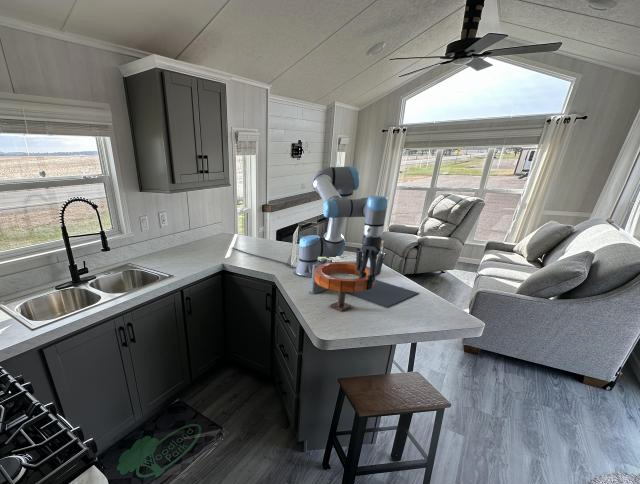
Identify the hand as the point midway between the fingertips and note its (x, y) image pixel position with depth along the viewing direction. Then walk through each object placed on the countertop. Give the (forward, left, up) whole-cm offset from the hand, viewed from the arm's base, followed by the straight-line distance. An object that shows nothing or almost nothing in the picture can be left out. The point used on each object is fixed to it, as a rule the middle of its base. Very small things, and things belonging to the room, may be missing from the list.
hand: (365, 287), depth 145 cm
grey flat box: (-33, +9, -14) cm, 37 cm away
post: (-12, 0, -14) cm, 18 cm away
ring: (-12, 0, 0) cm, 12 cm away
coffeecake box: (-33, +54, -14) cm, 65 cm away
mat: (-12, +31, -14) cm, 36 cm away
